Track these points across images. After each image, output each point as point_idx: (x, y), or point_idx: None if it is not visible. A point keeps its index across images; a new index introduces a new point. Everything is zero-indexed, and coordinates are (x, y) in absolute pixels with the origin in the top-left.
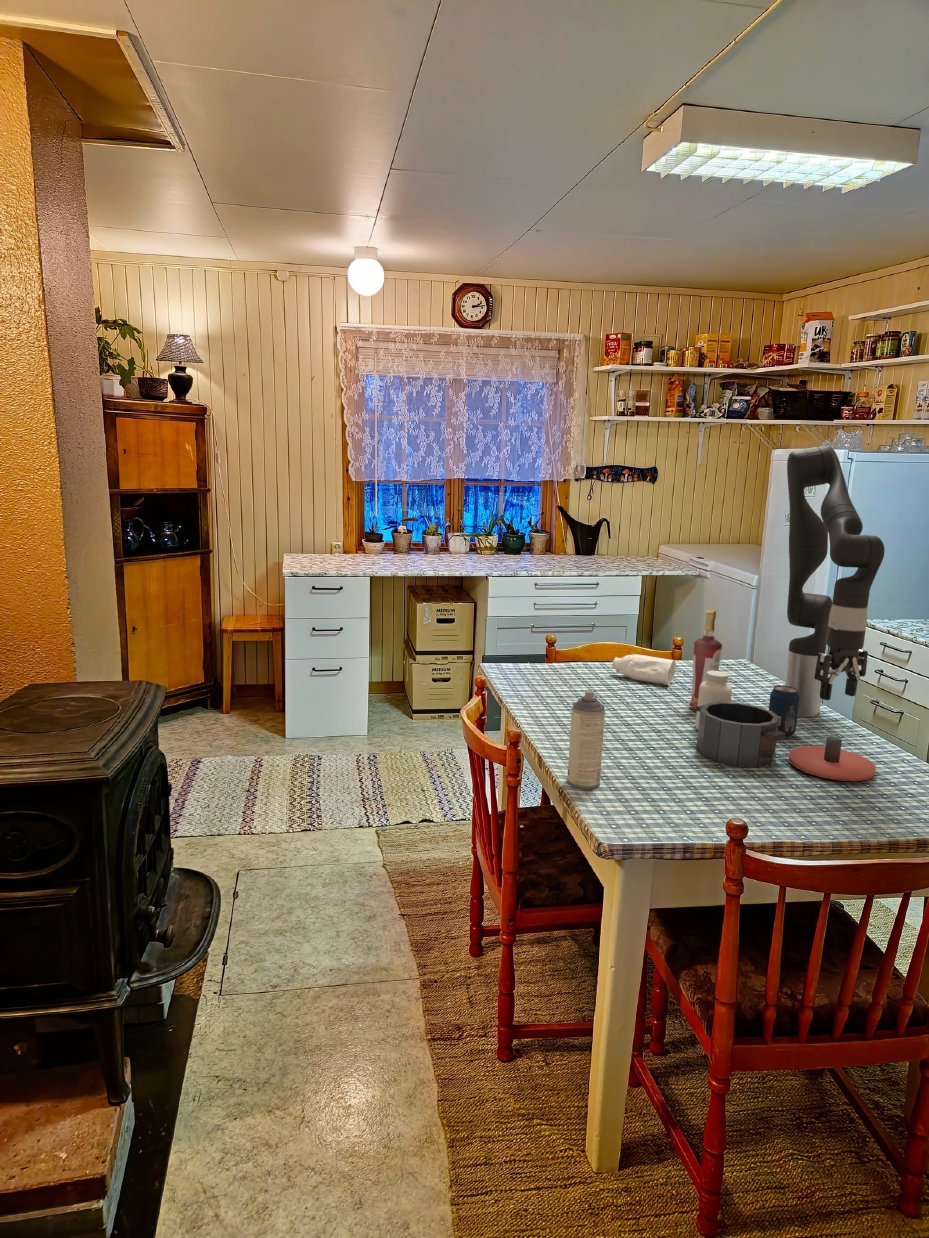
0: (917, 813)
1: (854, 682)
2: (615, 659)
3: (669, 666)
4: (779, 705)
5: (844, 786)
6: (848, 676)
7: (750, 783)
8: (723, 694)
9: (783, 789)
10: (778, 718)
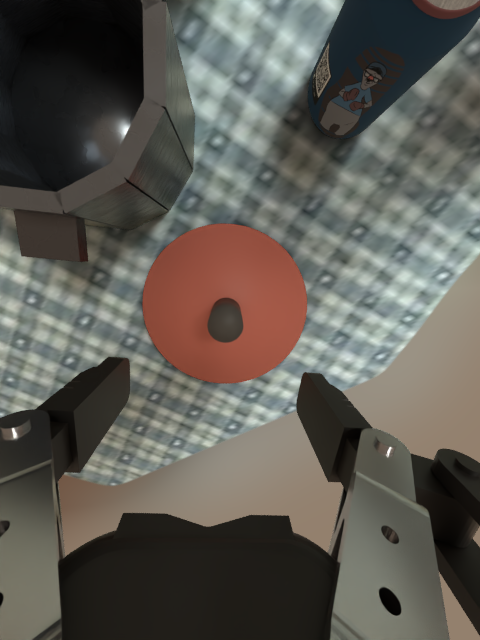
0: (179, 459)
1: (324, 464)
2: None
3: None
4: (348, 28)
5: (171, 364)
6: (356, 446)
7: (8, 270)
8: None
9: (53, 320)
10: (114, 186)
